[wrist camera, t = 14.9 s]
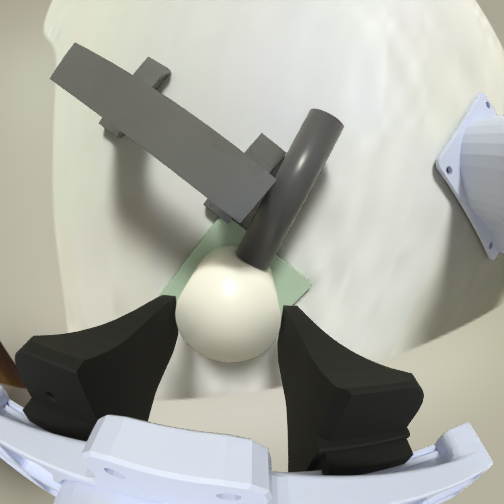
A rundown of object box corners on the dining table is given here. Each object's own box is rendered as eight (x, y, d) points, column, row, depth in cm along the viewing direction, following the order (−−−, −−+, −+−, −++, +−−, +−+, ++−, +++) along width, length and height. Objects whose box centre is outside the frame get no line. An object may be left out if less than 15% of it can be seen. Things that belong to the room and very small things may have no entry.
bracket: (284, 153, 13) (309, 142, 7) (228, 221, 14) (210, 260, 8) (152, 60, 11) (99, 12, 5) (104, 124, 12) (31, 111, 6)
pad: (310, 282, 15) (312, 285, 14) (242, 350, 16) (242, 354, 16) (223, 212, 14) (222, 213, 13) (160, 294, 15) (158, 297, 15)
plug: (352, 147, 12) (388, 139, 8) (242, 344, 15) (239, 390, 11) (278, 106, 12) (289, 79, 8) (176, 314, 15) (155, 355, 11)
